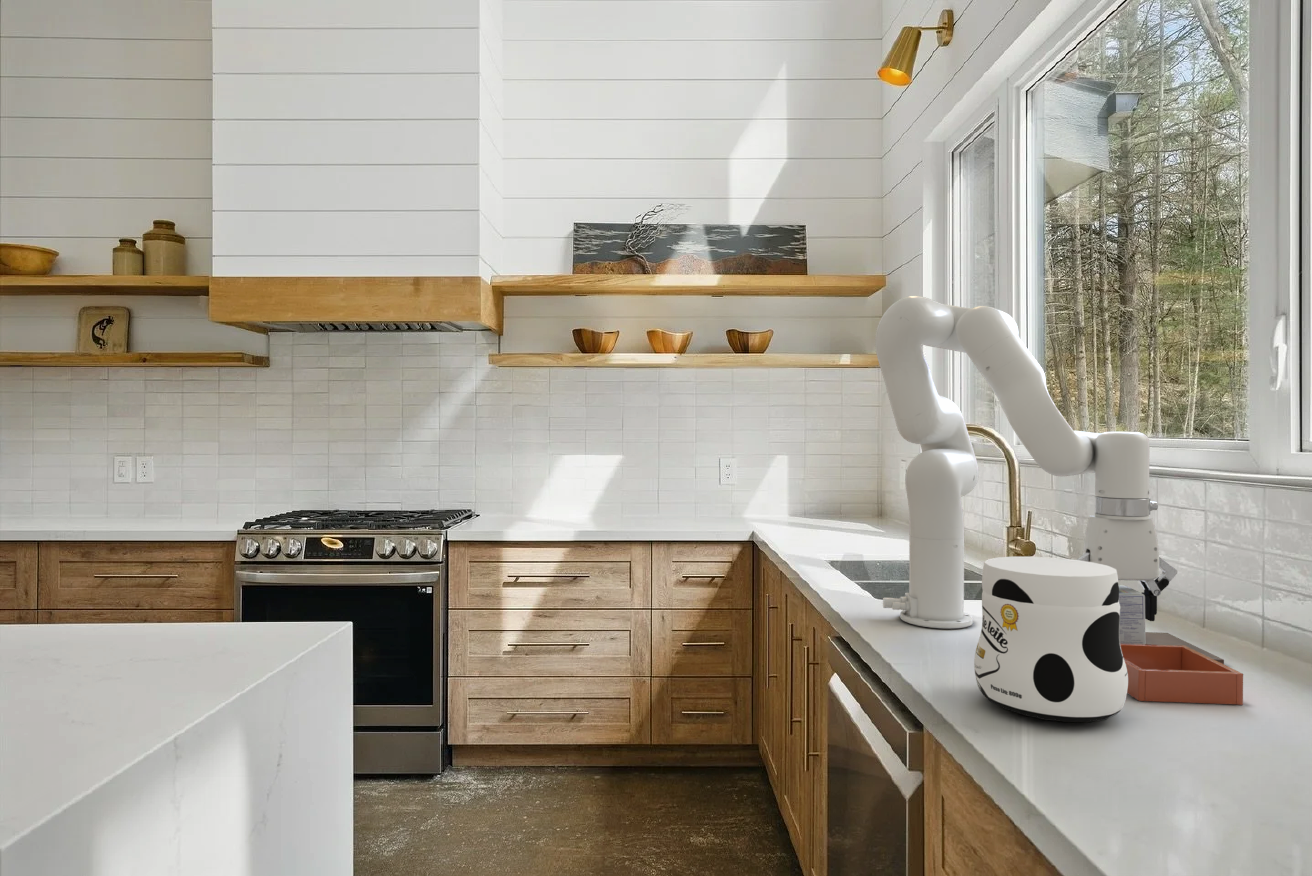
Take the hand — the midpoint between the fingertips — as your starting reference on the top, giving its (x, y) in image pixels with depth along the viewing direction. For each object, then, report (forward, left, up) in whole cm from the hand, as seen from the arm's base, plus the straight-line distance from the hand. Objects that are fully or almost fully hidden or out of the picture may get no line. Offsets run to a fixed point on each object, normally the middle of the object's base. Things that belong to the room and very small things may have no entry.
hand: (1120, 617), depth 127 cm
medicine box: (0, 0, -4) cm, 4 cm away
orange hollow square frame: (-3, -19, -5) cm, 20 cm away
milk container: (-22, -30, -5) cm, 38 cm away
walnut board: (0, 0, -5) cm, 5 cm away
